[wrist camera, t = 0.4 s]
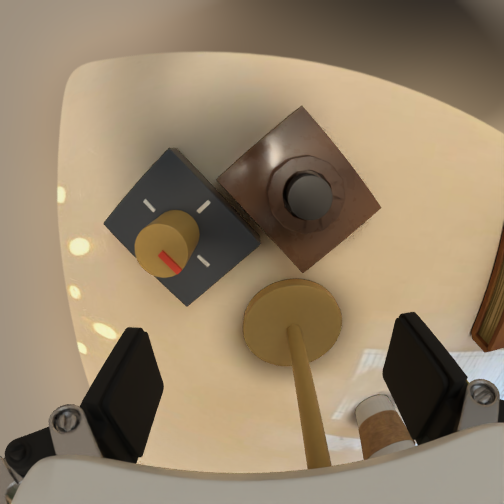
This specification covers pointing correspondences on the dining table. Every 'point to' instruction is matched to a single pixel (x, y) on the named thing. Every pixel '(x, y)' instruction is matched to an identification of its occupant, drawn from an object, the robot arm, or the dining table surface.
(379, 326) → the dining table surface
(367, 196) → the switch block
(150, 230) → the dimmer knob
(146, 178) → the dimmer panel
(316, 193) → the power button
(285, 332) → the lamp
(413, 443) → the coffee cup
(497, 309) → the diary
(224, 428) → the dining table surface
